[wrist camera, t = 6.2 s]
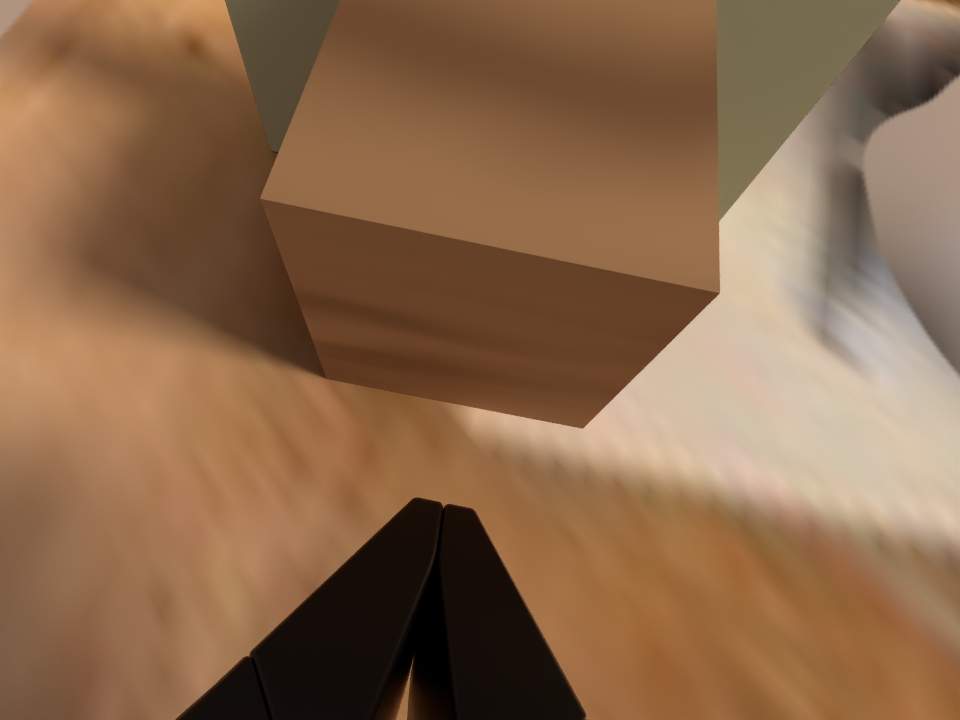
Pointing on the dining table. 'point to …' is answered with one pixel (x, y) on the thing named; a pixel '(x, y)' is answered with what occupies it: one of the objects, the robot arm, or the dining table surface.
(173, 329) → the dining table surface
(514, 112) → the walnut block
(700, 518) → the dining table surface
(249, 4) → the stop board
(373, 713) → the robot arm
